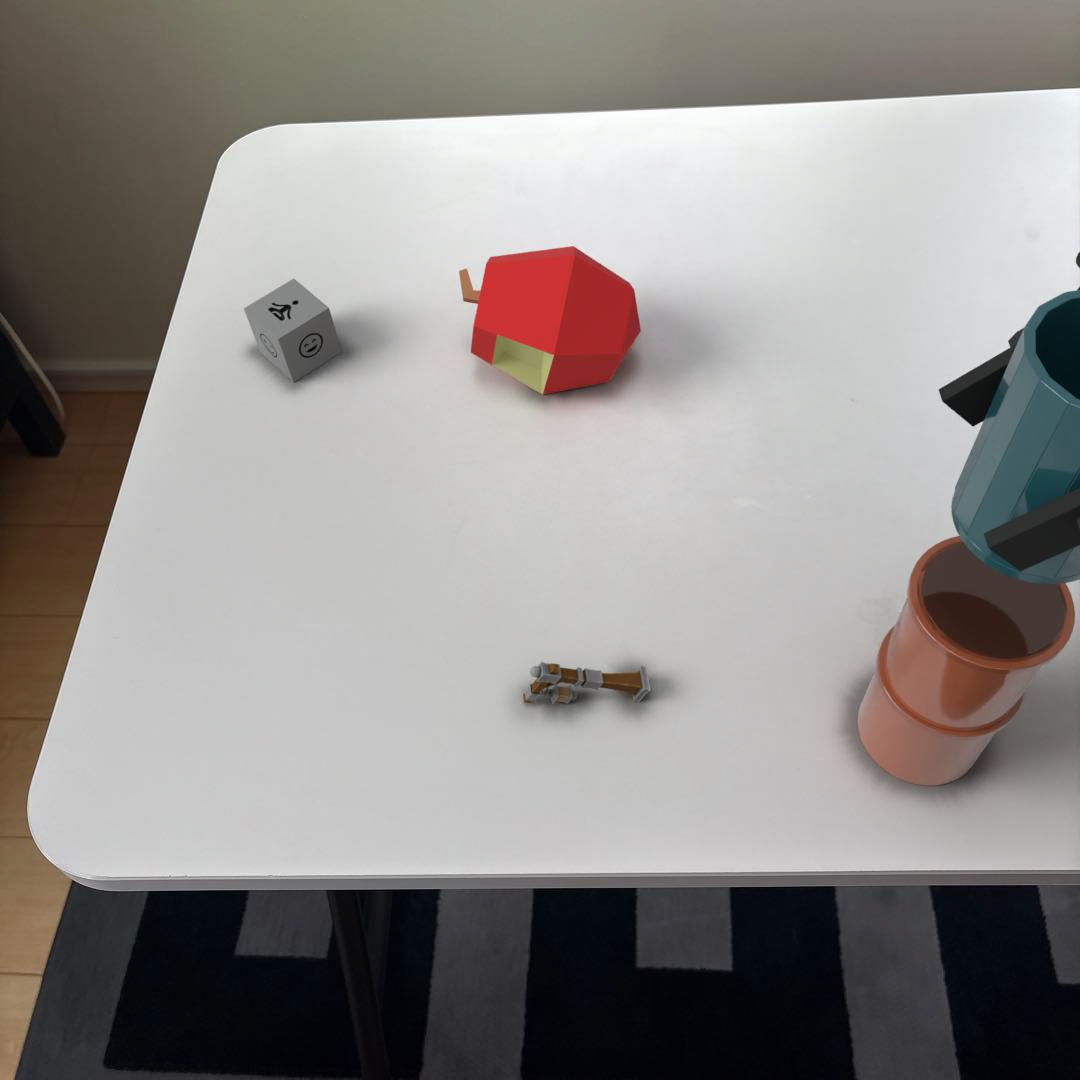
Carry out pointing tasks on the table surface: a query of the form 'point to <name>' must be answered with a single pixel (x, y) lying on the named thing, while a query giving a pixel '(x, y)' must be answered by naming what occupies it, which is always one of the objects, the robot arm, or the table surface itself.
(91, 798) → the table surface
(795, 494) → the table surface
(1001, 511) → the cup
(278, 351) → the dice cube
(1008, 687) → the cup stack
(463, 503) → the table surface
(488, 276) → the apple
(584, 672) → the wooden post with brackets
